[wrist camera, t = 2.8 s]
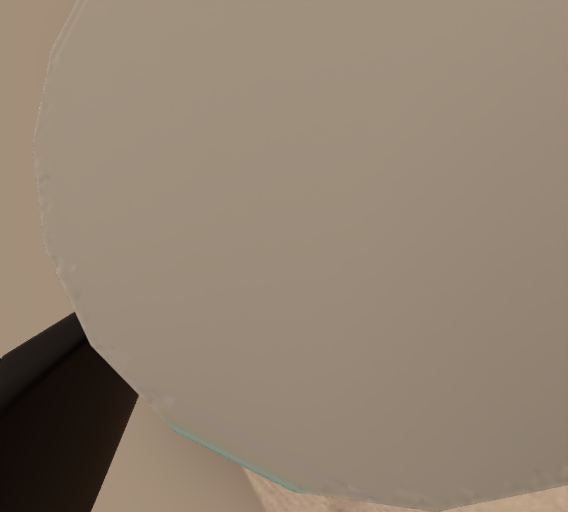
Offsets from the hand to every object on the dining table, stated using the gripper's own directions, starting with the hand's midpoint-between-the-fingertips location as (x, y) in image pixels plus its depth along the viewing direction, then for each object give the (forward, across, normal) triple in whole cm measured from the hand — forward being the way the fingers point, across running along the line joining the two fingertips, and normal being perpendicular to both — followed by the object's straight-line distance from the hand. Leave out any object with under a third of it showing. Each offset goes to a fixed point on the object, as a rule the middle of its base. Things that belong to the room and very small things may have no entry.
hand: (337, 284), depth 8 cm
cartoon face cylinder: (+8, 0, +6) cm, 10 cm away
